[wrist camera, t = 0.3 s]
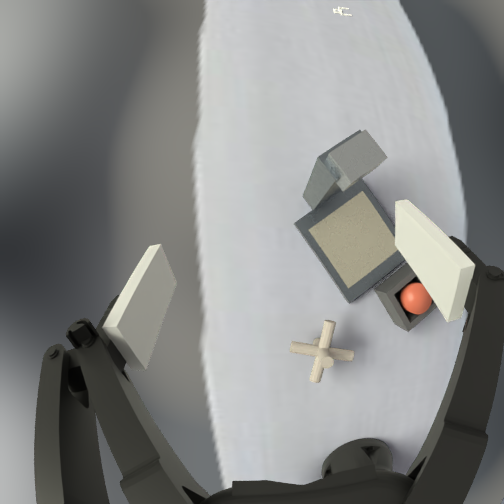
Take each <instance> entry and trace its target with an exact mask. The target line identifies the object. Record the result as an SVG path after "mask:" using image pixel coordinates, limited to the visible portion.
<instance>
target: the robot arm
mask: <svg viewBox="0 0 504 504" xmlns="http://www.w3.org/2000/svg"><path fill="white" fill-rule="evenodd" d="M395 246H396V247H397V249H398V250H399V251H400V253H401V254H402V255H403V257H404V258H405V260H406V261H407V262H408V264H409V265H410V267H411V268H412V269H413V271H414V272H415V274H416V275H417V277H418V278H419V279H420V281H421V282H422V284H423V285H424V287H425V288H426V290H427V291H428V293H429V294H430V296H431V297H432V299H433V300H434V302H435V304H436V305H437V307H438V308H439V310H440V311H441V313H442V315H443V316H444V318H445V319H446V321H447V323H448V322H451V321H454V320H457V319H460V318H461V317H462V314H463V310H464V307H465V309H466V310H467V312H468V313H469V314H468V317H467V320H466V323H465V325H464V328H463V331H462V332H464V333H463V337H462V341H461V345H460V348H459V352H458V355H457V359H456V362H455V365H454V369H453V372H452V375H451V378H450V381H449V384H448V387H447V390H446V392H445V395H444V398H443V400H442V403H441V406H440V408H439V411H438V413H437V415H436V418H435V420H434V423H433V425H432V427H431V429H430V432H429V434H428V436H427V438H426V440H425V442H424V444H423V446H422V448H421V450H420V452H419V454H418V456H417V457H416V459H415V461H414V462H413V464H412V465H411V467H410V469H409V470H408V472H407V474H406V476H405V475H403V474H400V473H397V472H393V471H392V469H393V458H392V454H391V452H390V450H389V448H388V446H387V445H386V444H385V443H384V442H382V441H380V440H377V439H359V440H355V441H351V442H349V443H346V444H344V445H342V446H340V447H339V448H337V449H336V450H334V451H333V452H332V453H331V454H330V455H329V456H328V457H327V458H326V460H325V461H324V463H323V466H322V477H323V479H320V480H317V481H315V482H312V483H309V484H306V485H296V484H288V483H281V482H274V481H268V480H261V481H233V482H232V488H228V489H225V490H222V491H220V492H218V493H216V494H213V495H212V496H210V495H209V494H208V493H207V492H206V491H205V490H204V489H203V488H202V487H201V486H200V485H199V484H198V483H197V482H196V481H195V480H194V478H193V477H192V476H191V474H190V473H189V472H188V470H187V469H186V468H185V466H184V465H183V463H182V462H181V461H180V459H179V458H178V457H177V455H176V454H175V452H174V451H173V449H172V448H171V446H170V445H169V443H168V442H167V440H166V439H165V438H164V436H163V434H162V433H161V431H160V430H159V428H158V426H157V425H156V423H155V422H154V420H153V418H152V417H151V415H150V413H149V412H148V410H147V408H146V407H145V405H144V403H143V401H142V400H141V398H140V396H139V394H138V392H137V391H136V389H135V387H134V385H133V383H132V381H131V380H130V378H129V376H128V374H127V372H126V371H125V370H124V366H125V364H126V363H127V364H128V365H129V367H130V368H131V369H132V370H147V367H148V364H149V360H150V358H151V354H152V352H153V349H154V346H155V343H156V340H157V337H158V334H159V331H160V328H161V325H162V323H163V320H164V317H165V315H166V311H167V309H168V306H169V304H170V301H171V298H172V295H173V293H174V290H175V287H176V285H177V282H176V279H175V277H174V275H173V272H172V270H171V268H170V265H169V263H168V260H167V258H166V255H165V253H164V250H163V248H162V245H161V244H159V245H154V246H149V248H148V249H147V251H146V253H145V254H144V256H143V258H142V259H141V260H140V262H139V264H138V265H137V267H136V269H135V271H134V272H133V274H132V275H131V277H130V279H129V280H128V282H127V284H126V286H125V287H124V289H123V291H122V292H121V294H120V295H118V296H116V297H115V298H114V299H113V301H111V303H110V305H109V306H108V308H107V310H106V312H105V314H104V316H103V317H102V319H101V320H100V322H99V324H98V326H97V328H96V329H95V328H94V327H93V325H92V323H91V322H90V321H89V319H86V318H84V319H80V320H78V321H76V322H74V323H73V324H72V325H71V326H70V327H69V328H68V330H67V332H66V337H67V338H68V339H69V341H70V342H71V343H72V345H73V346H74V347H75V348H74V349H71V350H68V351H66V349H65V348H64V347H63V346H62V345H61V344H56V345H53V346H51V347H50V348H49V349H48V350H47V351H46V353H45V354H44V357H43V362H42V369H41V374H40V382H39V389H38V398H37V408H36V421H35V422H36V423H35V443H34V467H35V489H36V501H37V504H110V503H109V499H108V495H107V490H106V486H105V481H104V475H103V470H102V464H101V457H100V451H99V443H98V436H97V426H96V417H95V412H96V415H97V418H98V420H99V423H100V426H101V428H102V430H103V433H104V436H105V438H106V440H107V442H108V445H109V447H110V449H111V452H112V454H113V456H114V458H115V460H116V462H117V465H118V466H119V468H120V471H121V473H122V475H123V479H122V480H121V481H120V486H121V488H122V491H123V493H124V494H125V496H126V498H127V500H128V502H129V504H463V502H464V500H465V498H466V496H467V494H468V491H469V489H470V487H471V485H472V483H473V480H474V478H475V475H476V473H477V470H478V468H479V465H480V463H481V460H482V457H483V454H484V452H485V449H486V445H487V441H488V435H487V434H486V433H485V430H486V426H487V423H488V419H489V416H490V412H491V408H492V404H493V400H494V396H495V391H496V387H497V382H498V376H499V371H500V365H501V357H502V351H503V343H504V272H503V271H502V270H501V269H500V268H497V267H495V266H486V265H485V264H484V263H483V262H482V261H481V260H480V259H479V258H478V257H477V256H476V255H475V254H474V253H473V252H472V251H471V250H470V249H469V248H468V247H467V246H466V245H465V244H464V243H463V242H462V241H461V240H459V239H457V238H455V237H453V236H450V237H448V236H447V235H446V234H445V233H444V232H443V231H442V230H440V229H439V228H438V227H437V226H436V225H435V224H434V223H433V222H432V221H431V220H430V219H429V218H428V217H427V216H425V215H424V214H423V213H422V212H421V211H420V210H419V209H418V208H416V207H415V206H414V205H413V204H412V203H411V202H410V201H408V200H400V201H395ZM501 504H504V498H503V500H502V502H501Z"/></svg>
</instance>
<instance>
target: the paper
mask: <svg viewBox="0 0 504 504" xmlns="http://www.w3.org/2000/svg"><path fill="white" fill-rule="evenodd" d="M341 9H348V10H349V8H343V7H341V8H340V7H338V9H333V11H334V13H339V14H341V15H344V16H352V14H343V13H342V10H341ZM336 10H338V11H339V12H336Z"/></svg>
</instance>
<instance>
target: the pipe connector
mask: <svg viewBox="0 0 504 504" xmlns="http://www.w3.org/2000/svg"><path fill="white" fill-rule="evenodd" d="M335 325H336V322H334V321H330V320H325V321H324V326H323V330H322V334H321V338H316V339H315V340H314V341H313V345H312V344H306V343H300V342H295V341H292V343H291V347H290V352H292V353H298V354H304V355H310V356H316V357H315V361H314V365H313V369H312V372H311V376H310V379H309V380H310V381H312V382H315V383H319V382H320V381H321V377H322V374H323V370H324V368H330V367H332V365H333V363H334V360H333V359H337V360H344V361H352V360H353V358H354V351H352V350H345V349H338V348H331V347H330V345H331V341H332V337H333V333H334V329H335Z"/></svg>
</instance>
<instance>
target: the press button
mask: <svg viewBox="0 0 504 504" xmlns="http://www.w3.org/2000/svg"><path fill="white" fill-rule="evenodd" d="M399 301H400V305H401V306H402V308H403V309H404V310H406V311H409V312H411V313H414V314H422V313H424V312H426V311H427V310H428V309H429V307H430V305H431V302H432V297H431V296H430V294H429V293H428V291H427V290H426V288H425V287H424V285H423V284H421V283H416V282H410V283H408V284H406V285H405V286H404V287H403V288H402V290H401V292H400V295H399Z"/></svg>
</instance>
